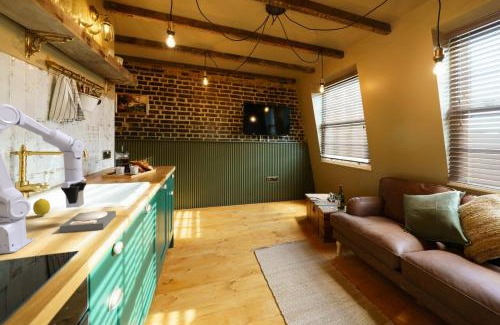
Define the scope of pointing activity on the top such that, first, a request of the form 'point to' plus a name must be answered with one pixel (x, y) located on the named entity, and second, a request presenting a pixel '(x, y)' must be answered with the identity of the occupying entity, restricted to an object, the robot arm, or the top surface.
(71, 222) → the scale
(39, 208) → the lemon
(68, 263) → the top surface
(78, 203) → the block
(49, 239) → the top surface
